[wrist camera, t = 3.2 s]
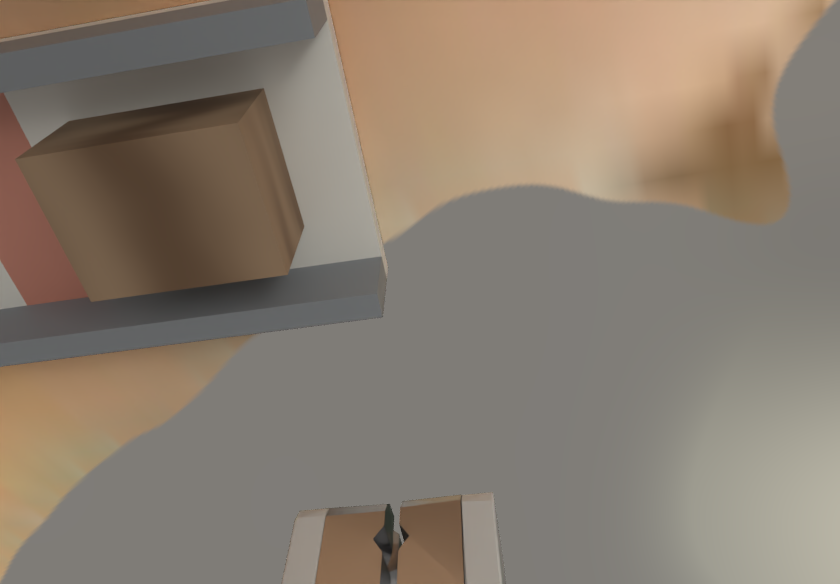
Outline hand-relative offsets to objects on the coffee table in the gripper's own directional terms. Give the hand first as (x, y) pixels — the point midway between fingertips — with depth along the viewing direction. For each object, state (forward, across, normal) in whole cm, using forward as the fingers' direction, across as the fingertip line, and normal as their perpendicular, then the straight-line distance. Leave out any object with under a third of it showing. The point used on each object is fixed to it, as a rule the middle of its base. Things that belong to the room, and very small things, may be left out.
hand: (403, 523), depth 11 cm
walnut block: (+18, +10, 0) cm, 20 cm away
